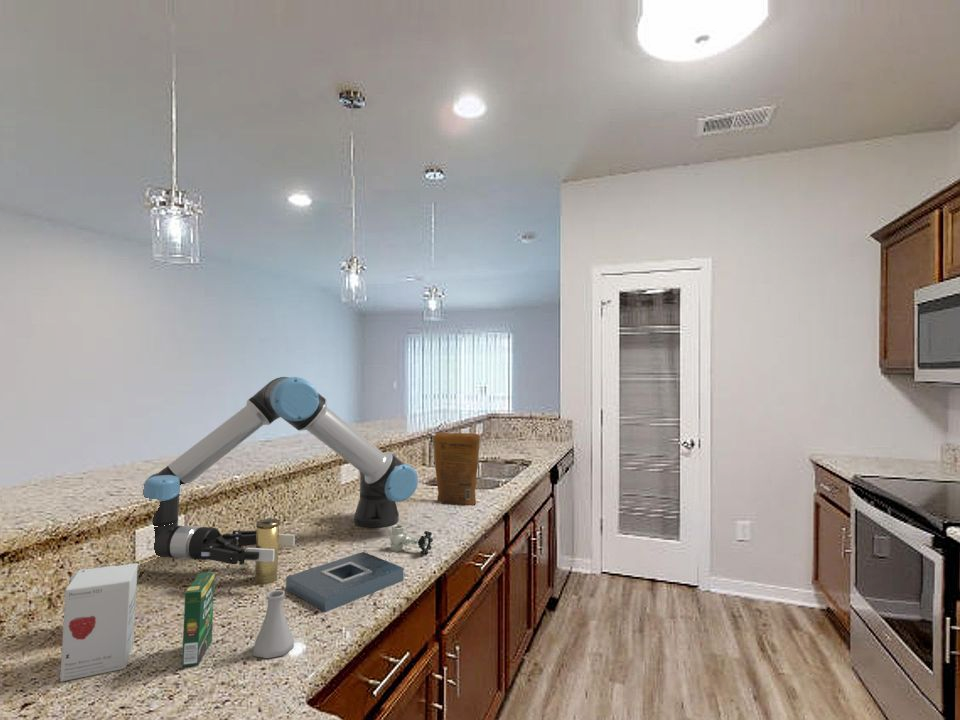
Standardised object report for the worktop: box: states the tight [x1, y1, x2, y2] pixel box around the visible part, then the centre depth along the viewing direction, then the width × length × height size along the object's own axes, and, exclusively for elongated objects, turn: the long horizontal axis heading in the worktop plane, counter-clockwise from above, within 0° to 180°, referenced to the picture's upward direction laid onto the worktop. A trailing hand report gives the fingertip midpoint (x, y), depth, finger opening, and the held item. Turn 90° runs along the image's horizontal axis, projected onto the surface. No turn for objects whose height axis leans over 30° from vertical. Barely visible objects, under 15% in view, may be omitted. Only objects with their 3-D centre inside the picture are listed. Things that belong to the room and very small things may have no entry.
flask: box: [252, 589, 295, 659], centre depth 91 cm, size 7×7×10 cm
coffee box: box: [181, 572, 215, 668], centre depth 88 cm, size 8×3×13 cm, turn 13°
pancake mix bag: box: [432, 432, 482, 506], centre depth 195 cm, size 7×19×28 cm, turn 74°
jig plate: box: [285, 551, 404, 613], centre depth 118 cm, size 22×16×3 cm
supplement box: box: [59, 562, 139, 683], centre depth 85 cm, size 9×9×15 cm
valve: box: [389, 524, 434, 556], centre depth 141 cm, size 7×7×12 cm
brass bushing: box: [254, 518, 281, 585], centre depth 120 cm, size 5×5×14 cm
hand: (284, 547), depth 120 cm, fingers open, 10 cm apart
